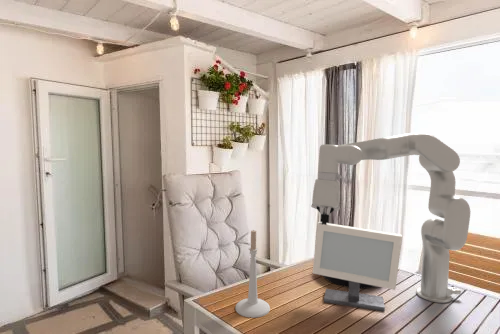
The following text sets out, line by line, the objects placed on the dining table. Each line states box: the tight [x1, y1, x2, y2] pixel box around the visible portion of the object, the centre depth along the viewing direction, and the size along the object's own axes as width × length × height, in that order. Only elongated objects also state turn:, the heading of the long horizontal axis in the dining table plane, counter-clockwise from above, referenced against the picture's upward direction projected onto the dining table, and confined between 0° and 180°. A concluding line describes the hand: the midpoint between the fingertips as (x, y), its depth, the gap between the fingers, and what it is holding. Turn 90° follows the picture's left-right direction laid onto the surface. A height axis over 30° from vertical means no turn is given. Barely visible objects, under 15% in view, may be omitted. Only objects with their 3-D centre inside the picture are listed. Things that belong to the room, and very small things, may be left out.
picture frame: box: [312, 221, 403, 291], centre depth 125 cm, size 30×3×20 cm, turn 73°
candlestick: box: [235, 229, 271, 319], centre depth 122 cm, size 13×13×30 cm
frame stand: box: [323, 281, 386, 312], centre depth 129 cm, size 22×9×23 cm, turn 73°
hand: (324, 223), depth 128 cm, fingers closed
